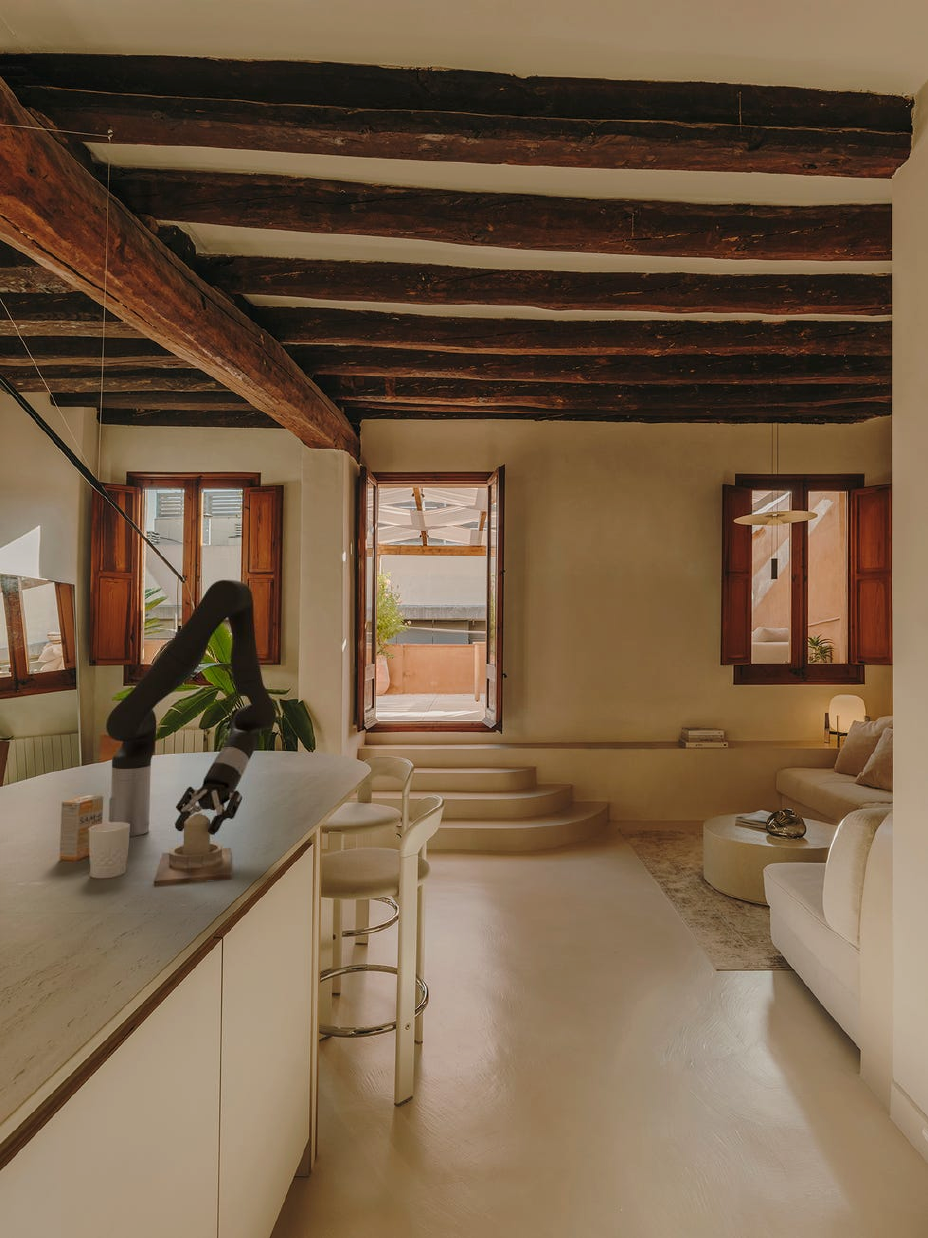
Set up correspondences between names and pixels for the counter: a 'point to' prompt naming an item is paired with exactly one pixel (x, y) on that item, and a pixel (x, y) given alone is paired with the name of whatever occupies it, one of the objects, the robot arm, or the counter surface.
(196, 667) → the robot arm
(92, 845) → the white cup
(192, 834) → the candle
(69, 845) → the supplement box
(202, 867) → the candle holder tray
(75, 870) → the counter surface
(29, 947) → the counter surface
